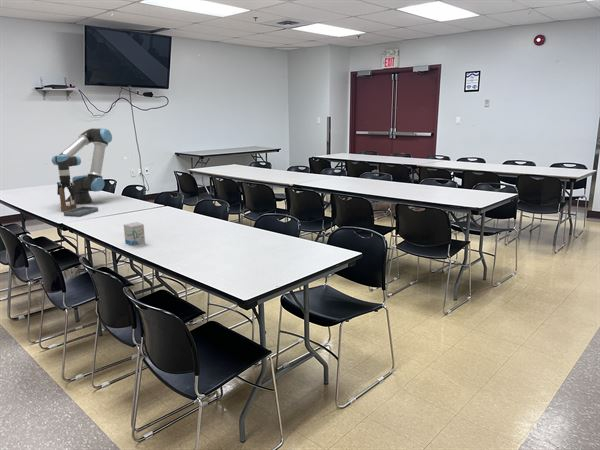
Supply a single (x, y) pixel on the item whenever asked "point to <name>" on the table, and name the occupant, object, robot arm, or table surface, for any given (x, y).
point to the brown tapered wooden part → (63, 201)
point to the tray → (80, 211)
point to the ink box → (134, 233)
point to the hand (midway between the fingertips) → (68, 203)
